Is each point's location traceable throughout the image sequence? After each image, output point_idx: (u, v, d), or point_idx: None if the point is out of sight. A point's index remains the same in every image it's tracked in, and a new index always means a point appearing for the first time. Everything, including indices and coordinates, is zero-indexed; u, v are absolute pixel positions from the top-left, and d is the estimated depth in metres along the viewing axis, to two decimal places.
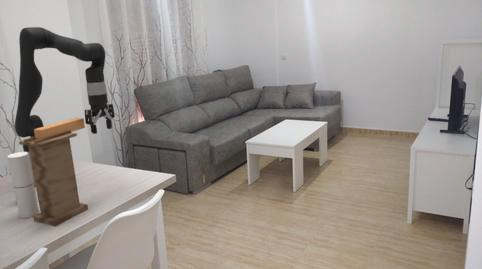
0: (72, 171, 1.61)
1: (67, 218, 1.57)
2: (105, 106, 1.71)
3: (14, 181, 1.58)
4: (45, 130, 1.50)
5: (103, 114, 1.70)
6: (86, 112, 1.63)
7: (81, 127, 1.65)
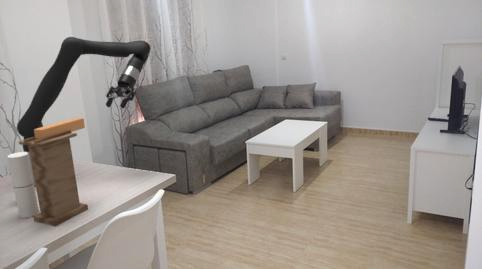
0: (72, 171, 1.61)
1: (67, 218, 1.57)
2: None
3: (14, 181, 1.58)
4: (45, 130, 1.50)
5: None
6: (134, 90, 1.85)
7: (81, 127, 1.65)
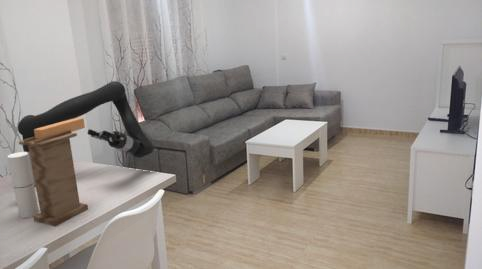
0: (72, 171, 1.61)
1: (67, 218, 1.57)
2: None
3: (14, 181, 1.58)
4: (45, 130, 1.50)
5: (105, 138, 1.81)
6: (122, 138, 1.80)
7: (81, 127, 1.65)
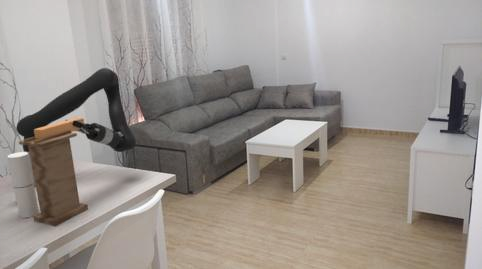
0: (72, 171, 1.61)
1: (67, 218, 1.57)
2: None
3: (14, 181, 1.58)
4: (45, 130, 1.50)
5: (83, 130, 1.69)
6: (97, 129, 1.67)
7: None
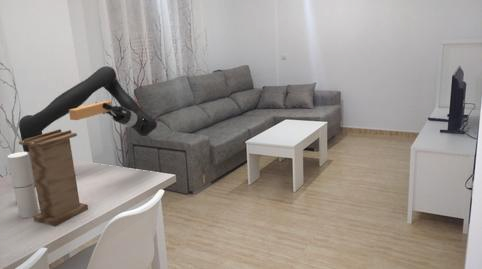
0: (72, 171, 1.61)
1: (67, 218, 1.57)
2: None
3: (14, 181, 1.58)
4: (79, 110, 1.64)
5: (111, 113, 1.83)
6: (124, 111, 1.81)
7: None
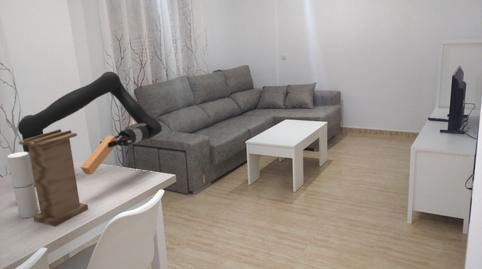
0: (72, 171, 1.61)
1: (67, 218, 1.57)
2: None
3: (14, 181, 1.58)
4: (90, 166, 1.71)
5: None
6: (129, 141, 1.85)
7: None
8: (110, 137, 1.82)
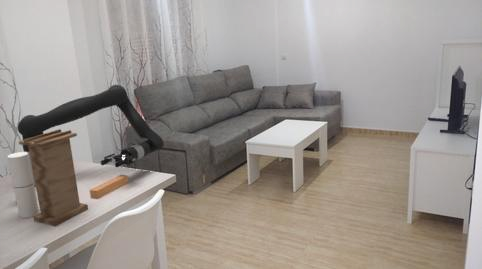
0: (72, 171, 1.61)
1: (67, 218, 1.57)
2: None
3: (14, 181, 1.58)
4: (99, 190, 1.77)
5: None
6: (134, 159, 1.89)
7: (126, 183, 1.92)
8: (123, 175, 1.92)
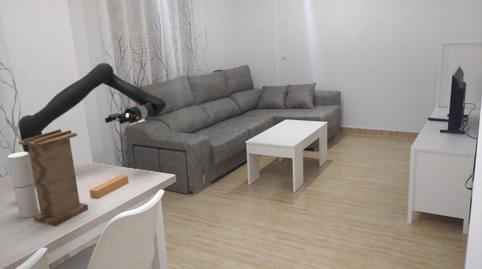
0: (72, 171, 1.61)
1: (67, 218, 1.57)
2: None
3: (14, 181, 1.58)
4: (99, 190, 1.77)
5: None
6: (138, 117, 1.92)
7: (126, 183, 1.92)
8: (123, 176, 1.92)
